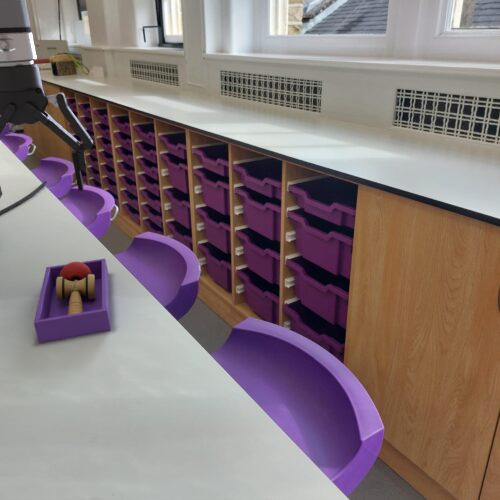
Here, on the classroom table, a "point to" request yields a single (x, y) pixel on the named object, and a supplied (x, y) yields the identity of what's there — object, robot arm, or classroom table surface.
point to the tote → (56, 311)
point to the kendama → (75, 285)
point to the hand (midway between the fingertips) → (40, 192)
